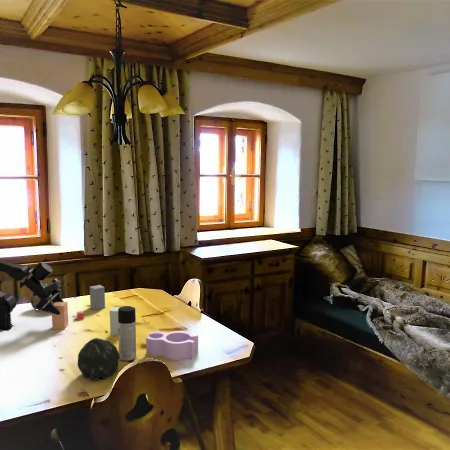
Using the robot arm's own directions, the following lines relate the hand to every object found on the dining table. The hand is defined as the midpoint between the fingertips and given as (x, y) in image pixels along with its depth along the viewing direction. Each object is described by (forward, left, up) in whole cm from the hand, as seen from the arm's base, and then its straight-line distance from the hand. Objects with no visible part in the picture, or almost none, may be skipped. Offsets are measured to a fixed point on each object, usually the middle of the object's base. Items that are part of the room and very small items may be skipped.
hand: (62, 310), depth 212 cm
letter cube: (+11, -6, -8) cm, 15 cm away
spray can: (-36, -32, -8) cm, 48 cm away
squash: (-49, -23, -8) cm, 55 cm away
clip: (-33, -49, -8) cm, 60 cm away
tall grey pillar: (+26, -12, -8) cm, 30 cm away
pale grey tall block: (-10, -26, -8) cm, 29 cm away
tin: (+25, +14, -8) cm, 30 cm away
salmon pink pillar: (0, +1, -8) cm, 8 cm away
